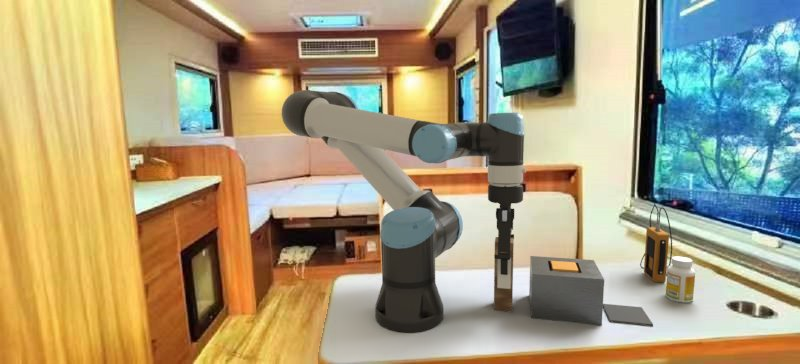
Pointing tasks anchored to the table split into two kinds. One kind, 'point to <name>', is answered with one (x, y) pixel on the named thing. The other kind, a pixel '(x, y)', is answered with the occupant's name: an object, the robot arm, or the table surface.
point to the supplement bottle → (680, 280)
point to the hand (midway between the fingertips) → (504, 276)
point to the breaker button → (564, 266)
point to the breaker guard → (566, 291)
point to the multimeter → (656, 250)
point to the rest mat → (627, 314)
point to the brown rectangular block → (502, 294)
